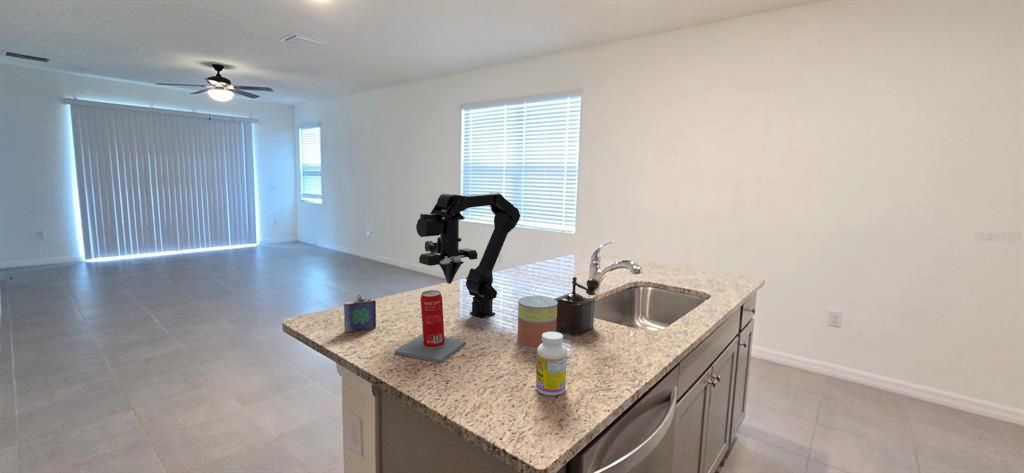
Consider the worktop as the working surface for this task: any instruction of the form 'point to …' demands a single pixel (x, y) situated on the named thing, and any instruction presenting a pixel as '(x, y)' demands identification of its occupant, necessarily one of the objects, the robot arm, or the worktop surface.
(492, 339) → the worktop surface
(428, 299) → the beverage can
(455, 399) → the worktop surface
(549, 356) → the supplement bottle
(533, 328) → the canned food
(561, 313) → the pepper mill
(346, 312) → the flask
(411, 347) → the rubber mat
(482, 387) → the worktop surface
